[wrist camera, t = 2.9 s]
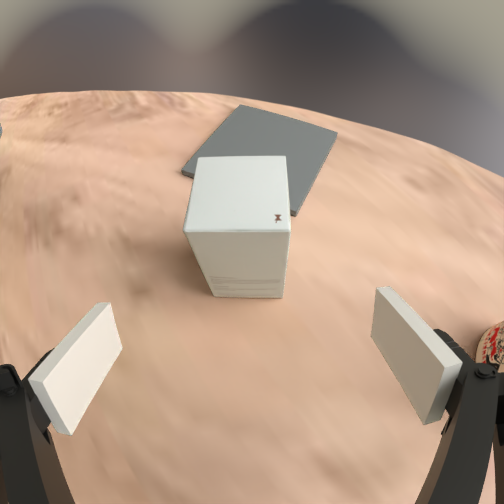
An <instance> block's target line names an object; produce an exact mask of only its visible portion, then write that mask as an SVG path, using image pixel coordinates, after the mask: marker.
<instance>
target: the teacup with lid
mask: <svg viewBox="0 0 504 504" xmlns="http://www.w3.org/2000/svg"><path fill="white" fill-rule="evenodd" d="M476 363H486V364H489V365H491V366H493V367H494V368H495V369H496V370H497V371H498V373H501V372H504V321H502V322H500V323H499V324H497V325H495V326H493V327H491V328H490V329H488V330H487V331H486V332H485V333H484V335H483V336H482V338H481V340H480V342H479V345H478V348H477V352H476Z"/></svg>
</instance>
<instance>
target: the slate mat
mask: <svg viewBox="0 0 504 504" xmlns="http://www.w3.org/2000/svg"><path fill="white" fill-rule="evenodd" d="M336 138H337V132H334V131H331V130H328V129H325V128H322V127H319V126H316V125H313V124H310V123H307V122H303V121H300V120H297V119H293V118H290V117H286V116H283V115H279V114H276V113H272V112H268V111H265V110H261V109H257V108H253V107H249V106H244V105H239V106H238V107H237V108H236V109H235V110H234V111H233V113H232V114H231V115H230V116H229V117H228V118H227V119H226V120H225V121H224V122H223V123H222V124H221V125H220V126H219V127H218V129H217V130H216V131H215V132H214V133H213V134H212V135H211V136H210V137H209V138H208V140H207V141H206V142H205V143H204V144H203V145H202V146H201V147H200V149H199V150H198V151H197V152H196V153H195V154H194V155H193V157H192V158H191V159H190V160H189V161H188V162H187V164H186V165H185V166H184V167H183V168H182V169H181V170H182V173H183V175H185V176H188V177H191V178H194V176H195V171H196V166H197V161H198V158H199V157H223V156H286V166H287V177H288V190H289V202H290V215H293V216H295V217H296V216H297V214H298V212H299V210H300V208H301V206H302V204H303V202H304V200H305V198H306V196H307V195H308V193H309V191H310V189H311V187H312V185H313V183H314V181H315V179H316V177H317V175H318V173H319V171H320V169H321V167H322V166H323V164H324V162H325V160H326V158H327V156H328V154H329V152H330V150H331V148H332V146H333V144H334V142H335V140H336Z"/></svg>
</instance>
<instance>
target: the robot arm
mask: <svg viewBox="0 0 504 504" xmlns="http://www.w3.org/2000/svg"><path fill="white" fill-rule="evenodd" d="M1 135H2V127H1V124H0V138H1ZM371 337H372V339H373V341H374V342H375V344H376V345H377V347H378V349H379V350H380V352H381V353H382V355H383V357H384V358H385V360H386V362H387V363H388V365H389V367H390V368H391V370H392V372H393V373H394V375H395V377H396V378H397V380H398V382H399V383H400V385H401V387H402V388H403V390H404V392H405V393H406V395H407V397H408V399H409V400H410V402H411V404H412V406H413V407H414V409H415V411H416V413H417V414H418V416H419V418H420V420H421V421H422V423H423V425H426V424H429V423H432V422H435V421H439V420H441V417H442V415H443V413H444V410H445V409H446V410H447V412H448V413H449V415H450V416H449V418H448V420H447V422H446V424H445V426H444V429H443V431H442V433H441V435H442V438H441V441H440V444H439V447H438V450H437V453H436V455H435V458H434V461H433V463H432V466H431V468H430V471H429V473H428V476H427V478H426V480H425V483H424V485H423V487H422V489H421V492H420V494H419V496H418V498H417V500H416V502H415V504H478V503H479V499H480V496H481V492H482V489H483V485H484V481H485V477H486V472H487V468H488V463H489V458H490V453H491V448H492V442H493V450H494V463H495V483H496V504H504V372H501V373H498V371H497V370H496V369H495V368H494V367H493V366H491V365H489V364H486V363H475V362H474V361H473V360H472V359H471V358H470V357H469V356H468V355H467V353H466V352H465V351H464V350H463V349H462V348H461V347H459V345H458V344H457V343H456V342H454V340H453V339H452V338H451V337H450V336H449V335H448V334H447V333H445V332H443V331H441V330H440V329H434V330H432V329H431V328H430V327H429V325H428V324H427V323H426V322H425V321H424V320H423V319H422V318H421V317H420V316H419V315H418V314H417V313H416V312H415V311H414V310H413V309H412V308H411V307H410V306H409V305H408V304H407V303H406V302H405V301H404V300H403V299H402V298H401V297H400V296H399V295H398V294H397V293H396V292H395V291H394V290H393V289H392V288H391V287H390V286H388V287H379V288H376V295H375V305H374V314H373V323H372V331H371ZM122 349H123V348H122V345H121V341H120V338H119V334H118V331H117V327H116V323H115V320H114V316H113V312H112V308H111V304H110V303H97V304H96V305H95V306H94V307H93V308H92V309H91V310H90V311H89V312H88V313H87V314H86V315H85V316H84V317H83V318H82V319H81V320H80V321H79V323H78V324H77V325H76V326H75V327H74V328H73V329H72V330H71V331H70V332H69V333H68V334H67V335H66V336H65V338H64V339H63V340H62V341H61V342H60V343H59V344H58V345H57V346H56V347H55V348H53V349H52V350H50V351H49V352H47V353H46V354H45V355H44V356H43V357H42V358H41V359H40V361H38V363H37V364H36V365H35V367H33V368H32V369H31V371H30V372H29V373H28V374H27V375H26V376H25V377H24V379H23V380H22V381H21V380H20V378H19V376H18V374H17V372H16V369H15V367H14V366H13V365H11V364H4V365H0V504H8V502H9V504H75V502H74V500H73V497H72V495H71V493H70V490H69V487H68V485H67V482H66V480H65V477H64V474H63V471H62V468H61V465H60V462H59V459H58V456H57V453H56V450H55V447H54V443H53V440H52V436H51V433H50V432H49V430H48V428H47V427H48V426H49V424H50V422H51V423H52V425H53V426H54V428H55V430H56V431H57V432H59V433H62V434H66V435H70V436H72V434H73V432H74V431H75V429H76V427H77V425H78V423H79V422H80V420H81V418H82V416H83V414H84V413H85V411H86V409H87V407H88V406H89V404H90V402H91V400H92V399H93V397H94V395H95V394H96V392H97V390H98V388H99V387H100V385H101V383H102V382H103V380H104V378H105V377H106V375H107V373H108V372H109V370H110V368H111V367H112V365H113V363H114V362H115V360H116V358H117V357H118V355H119V354H120V352H121V350H122Z"/></svg>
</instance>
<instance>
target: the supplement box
mask: <svg viewBox="0 0 504 504" xmlns="http://www.w3.org/2000/svg"><path fill="white" fill-rule="evenodd" d="M183 232H184V234H185V236H186V237H187V239H188V242H189V244H190V246H191V248H192V250H193V253H194V255H195V257H196V259H197V262H198V264H199V266H200V268H201V270H202V273H203V275H204V277H205V279H206V281H207V284H208V286H209V287H210V290H211V292H212V294H213V296H214V297H243V298H283V293H284V285H285V277H286V269H287V261H288V252H289V244H290V236H291V221H290V202H289V190H288V177H287V166H286V156H223V157H199V158H198V161H197V166H196V171H195V176H194V181H193V185H192V189H191V194H190V198H189V203H188V208H187V212H186V217H185V222H184V226H183Z"/></svg>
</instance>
